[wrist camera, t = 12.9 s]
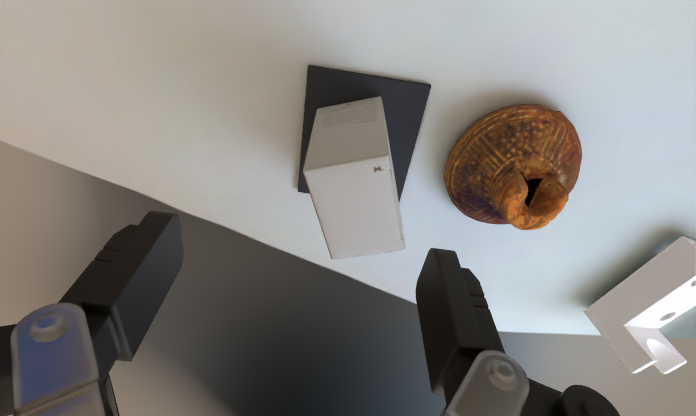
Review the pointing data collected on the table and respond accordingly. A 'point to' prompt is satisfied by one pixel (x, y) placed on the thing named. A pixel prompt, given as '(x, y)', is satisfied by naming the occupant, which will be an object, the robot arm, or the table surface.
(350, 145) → the small box
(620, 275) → the table surface
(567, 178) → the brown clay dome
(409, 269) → the table surface
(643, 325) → the bracket
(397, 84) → the coaster
